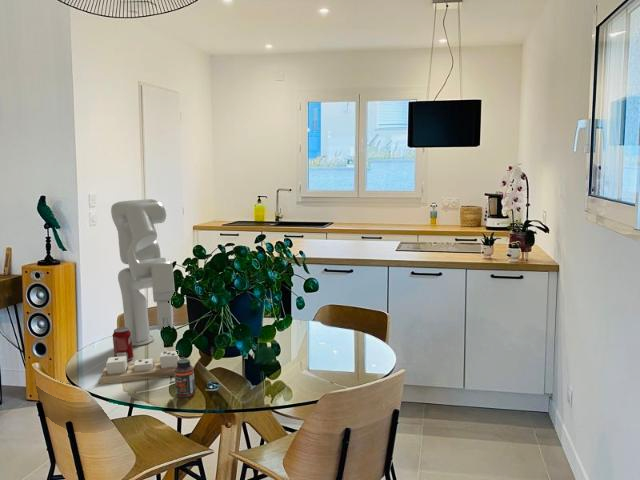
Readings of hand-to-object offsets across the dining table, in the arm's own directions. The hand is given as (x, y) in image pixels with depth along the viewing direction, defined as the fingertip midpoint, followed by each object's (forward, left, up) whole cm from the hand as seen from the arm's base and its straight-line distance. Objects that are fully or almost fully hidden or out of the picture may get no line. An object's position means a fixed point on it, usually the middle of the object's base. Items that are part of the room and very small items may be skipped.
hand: (168, 346), depth 217 cm
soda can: (-18, -18, -9) cm, 27 cm away
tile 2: (0, -9, -9) cm, 13 cm away
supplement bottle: (+26, +6, -9) cm, 28 cm away
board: (0, -9, -9) cm, 13 cm away
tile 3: (0, 0, -7) cm, 7 cm away
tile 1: (0, -18, -7) cm, 19 cm away
